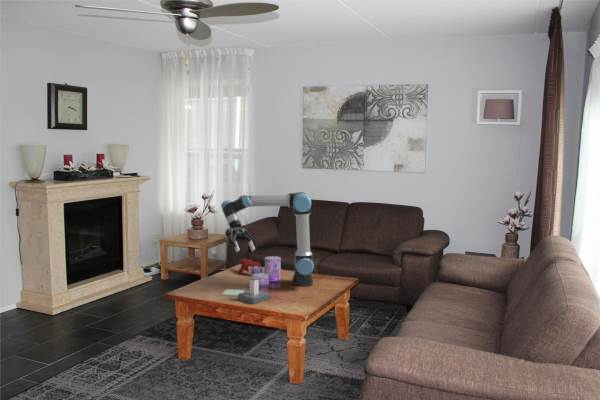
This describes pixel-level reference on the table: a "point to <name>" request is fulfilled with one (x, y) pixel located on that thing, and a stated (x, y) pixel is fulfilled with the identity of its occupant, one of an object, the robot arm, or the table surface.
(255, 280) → the plug
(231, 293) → the pad
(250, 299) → the grey square socket block
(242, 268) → the decorative bird sculpture
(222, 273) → the table surface
